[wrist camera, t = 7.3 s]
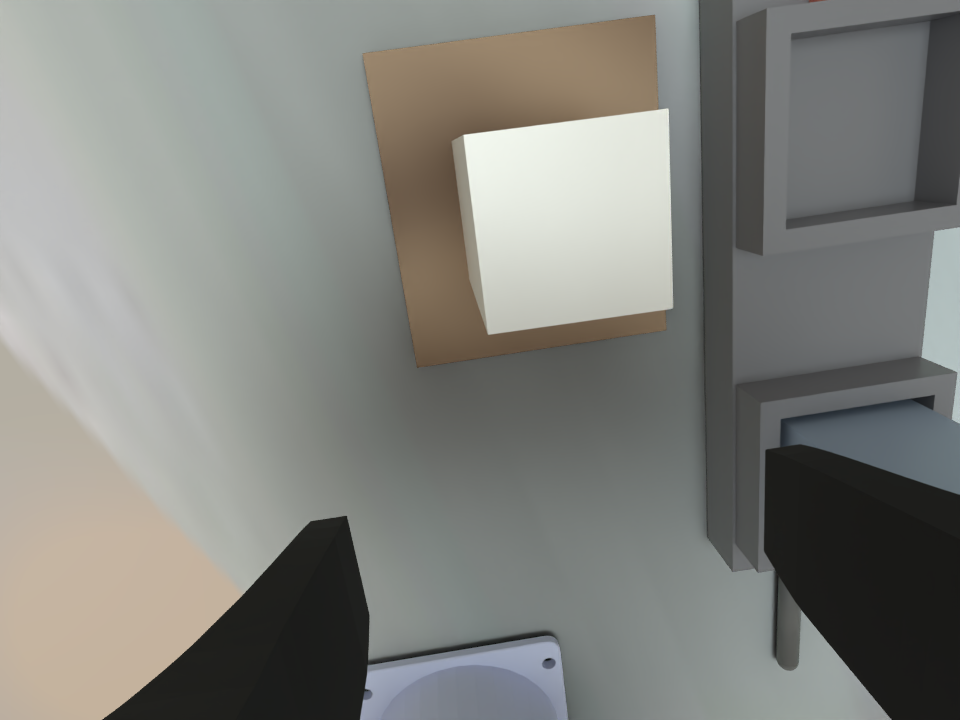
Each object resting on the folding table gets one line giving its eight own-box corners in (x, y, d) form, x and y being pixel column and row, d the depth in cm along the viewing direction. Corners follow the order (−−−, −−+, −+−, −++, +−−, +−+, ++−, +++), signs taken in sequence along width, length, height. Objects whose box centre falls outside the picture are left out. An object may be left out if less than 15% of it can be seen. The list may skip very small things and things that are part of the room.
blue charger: (878, 498, 21) (1047, 627, 15) (762, 516, 21) (888, 654, 15) (888, 387, 20) (1076, 483, 14) (763, 406, 19) (903, 511, 14)
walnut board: (659, 325, 20) (666, 330, 20) (417, 361, 20) (416, 367, 20) (647, 19, 18) (654, 14, 17) (364, 56, 17) (362, 53, 17)
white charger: (599, 262, 19) (672, 308, 13) (469, 280, 19) (488, 334, 13) (591, 123, 18) (667, 108, 12) (451, 141, 18) (463, 134, 12)
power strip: (853, 647, 25) (917, 721, 22) (709, 672, 25) (752, 749, 22) (906, -35, 18) (1017, -79, 14) (699, -8, 17) (763, -46, 14)
